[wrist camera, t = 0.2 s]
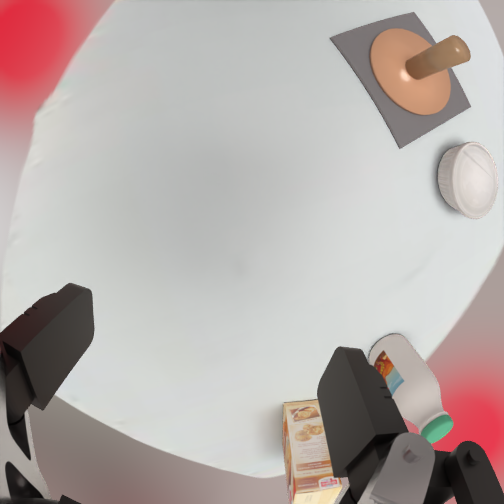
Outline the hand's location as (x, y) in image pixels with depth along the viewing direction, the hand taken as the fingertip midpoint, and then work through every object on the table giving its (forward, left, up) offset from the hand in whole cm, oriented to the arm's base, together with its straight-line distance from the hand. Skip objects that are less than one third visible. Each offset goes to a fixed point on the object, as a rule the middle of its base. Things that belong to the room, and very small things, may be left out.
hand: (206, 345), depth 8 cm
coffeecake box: (+38, +19, -29) cm, 51 cm away
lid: (-26, +19, -28) cm, 43 cm away
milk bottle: (+18, +29, -29) cm, 45 cm away
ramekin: (-13, +31, -29) cm, 45 cm away
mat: (-26, +19, -29) cm, 43 cm away
